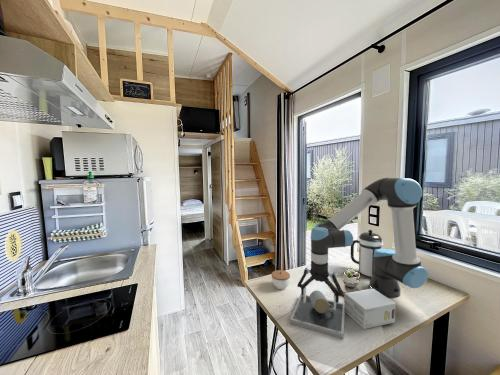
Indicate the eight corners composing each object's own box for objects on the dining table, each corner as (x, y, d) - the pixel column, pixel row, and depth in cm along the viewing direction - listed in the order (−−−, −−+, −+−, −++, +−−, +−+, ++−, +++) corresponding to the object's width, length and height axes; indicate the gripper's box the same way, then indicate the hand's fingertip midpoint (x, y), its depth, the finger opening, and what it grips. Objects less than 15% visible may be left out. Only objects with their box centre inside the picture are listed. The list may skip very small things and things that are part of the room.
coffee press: (377, 270, 146) (378, 226, 144) (386, 281, 131) (388, 233, 129) (350, 268, 150) (350, 225, 148) (355, 279, 135) (356, 232, 133)
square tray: (345, 307, 107) (345, 303, 106) (343, 339, 87) (343, 334, 87) (300, 297, 116) (300, 293, 116) (290, 323, 96) (290, 319, 96)
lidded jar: (272, 281, 133) (272, 266, 133) (290, 283, 131) (290, 268, 130) (270, 290, 123) (270, 275, 122) (289, 292, 121) (289, 276, 120)
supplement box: (364, 330, 92) (364, 309, 91) (343, 311, 104) (343, 292, 104) (395, 322, 96) (396, 302, 95) (372, 305, 109) (372, 287, 108)
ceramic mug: (314, 314, 99) (315, 297, 100) (308, 305, 108) (309, 289, 108) (336, 315, 100) (337, 298, 100) (329, 306, 108) (330, 290, 108)
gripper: (349, 262, 98) (348, 306, 99) (294, 254, 108) (295, 294, 110) (348, 269, 91) (348, 316, 92) (290, 259, 101) (291, 302, 103)
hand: (319, 304), depth 101 cm, fingers open, 13 cm apart
